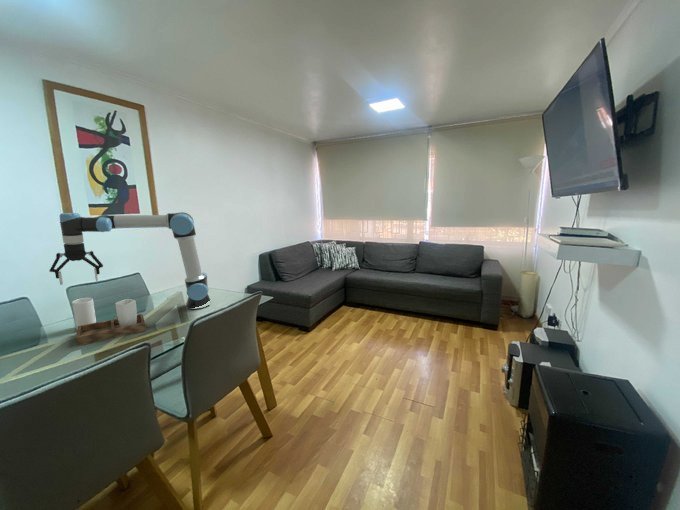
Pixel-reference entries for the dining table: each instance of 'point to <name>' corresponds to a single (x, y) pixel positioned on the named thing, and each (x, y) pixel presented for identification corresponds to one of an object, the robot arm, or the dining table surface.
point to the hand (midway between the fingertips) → (79, 282)
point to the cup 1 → (84, 311)
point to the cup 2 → (126, 312)
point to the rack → (107, 330)
